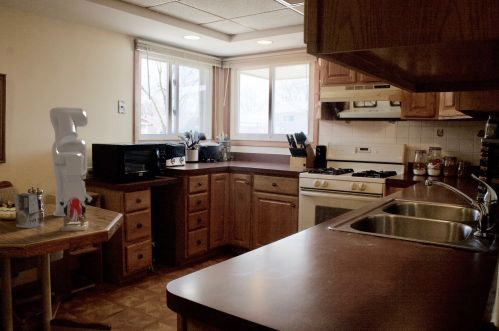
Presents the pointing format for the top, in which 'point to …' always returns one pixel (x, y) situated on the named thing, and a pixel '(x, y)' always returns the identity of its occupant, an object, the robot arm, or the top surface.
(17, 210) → the coffee box
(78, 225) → the peg stand
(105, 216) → the top surface
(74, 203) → the soda can
